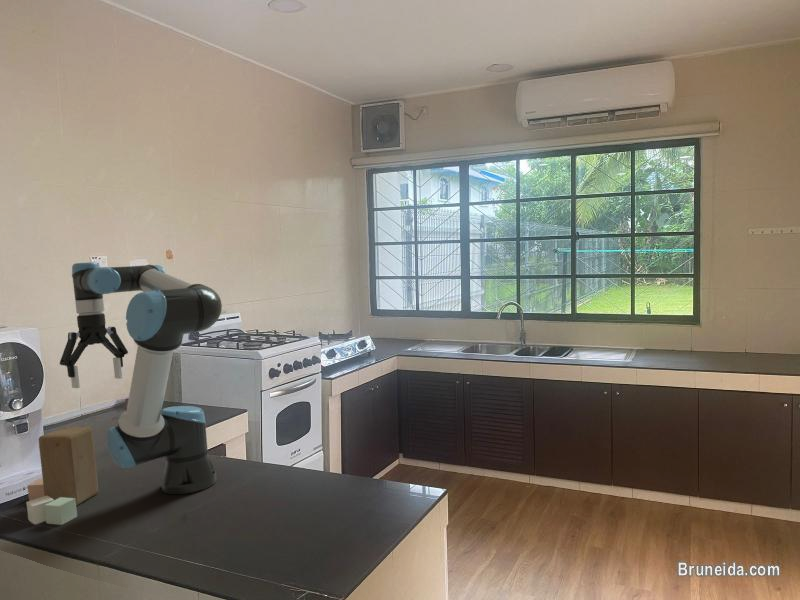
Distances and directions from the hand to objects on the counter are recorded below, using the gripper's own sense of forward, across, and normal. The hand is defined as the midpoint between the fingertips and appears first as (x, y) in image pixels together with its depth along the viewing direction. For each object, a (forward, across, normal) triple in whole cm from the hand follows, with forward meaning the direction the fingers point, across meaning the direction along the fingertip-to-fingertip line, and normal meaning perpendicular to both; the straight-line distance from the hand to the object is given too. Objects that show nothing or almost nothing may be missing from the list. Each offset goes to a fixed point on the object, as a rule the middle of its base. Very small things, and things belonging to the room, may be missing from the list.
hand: (97, 383), depth 183 cm
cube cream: (+31, +25, +10) cm, 41 cm away
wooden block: (+31, +14, +5) cm, 34 cm away
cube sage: (+31, +23, +16) cm, 41 cm away
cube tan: (+31, +17, -5) cm, 35 cm away
